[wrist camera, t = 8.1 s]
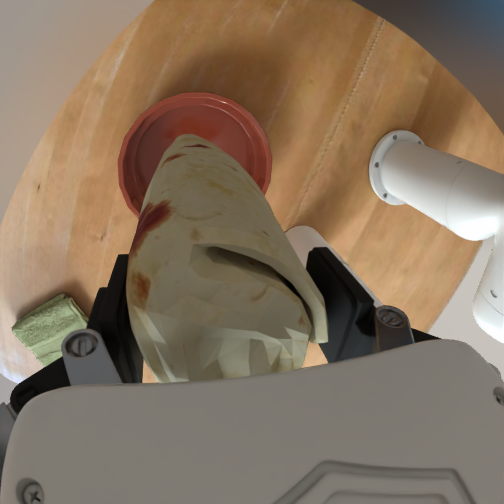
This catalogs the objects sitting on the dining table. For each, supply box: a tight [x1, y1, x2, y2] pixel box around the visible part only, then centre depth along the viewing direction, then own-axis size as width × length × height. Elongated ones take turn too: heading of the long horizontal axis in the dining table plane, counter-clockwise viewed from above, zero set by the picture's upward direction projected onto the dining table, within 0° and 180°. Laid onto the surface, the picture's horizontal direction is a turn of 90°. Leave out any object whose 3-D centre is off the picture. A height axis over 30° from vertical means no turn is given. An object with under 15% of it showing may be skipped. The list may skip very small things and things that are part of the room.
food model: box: [126, 134, 329, 383], centre depth 16 cm, size 10×7×20 cm
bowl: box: [118, 92, 272, 219], centre depth 34 cm, size 17×17×6 cm
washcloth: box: [12, 293, 89, 367], centre depth 42 cm, size 13×18×3 cm
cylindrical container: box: [285, 225, 383, 308], centre depth 35 cm, size 7×7×25 cm
